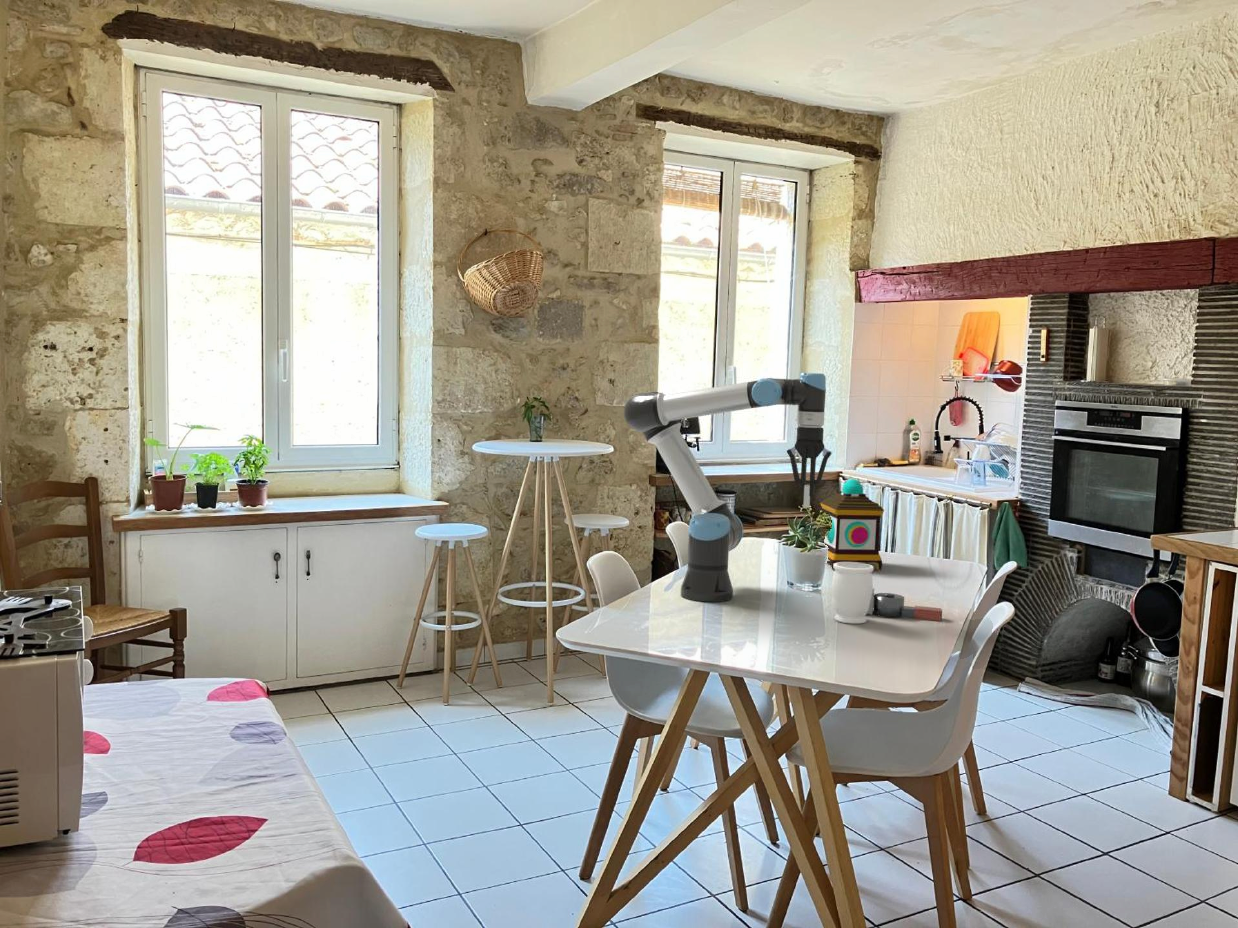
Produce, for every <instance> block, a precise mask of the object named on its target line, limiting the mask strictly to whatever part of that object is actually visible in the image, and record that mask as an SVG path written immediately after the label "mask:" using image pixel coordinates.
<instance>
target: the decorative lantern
mask: <svg viewBox="0 0 1238 928" xmlns="http://www.w3.org/2000/svg"><path fill="white" fill-rule="evenodd" d="M820 506H821V508H822V513H823V512H826V513H828V514H830V517H831V520H832V529H830V531H827V532H826V534H825V539H824V543H825V545H827V546H828V548H829V549H828V559H827V560H828V561H829V562H830V564H831V566H830V567H831V570H833V571H835V569H834V568H833V564H834V563H837V562H858V563H864V564H869V563H875V565H876V570H877V571H878V570H880V571H882V568H883V560H882V557H881V555H880V553H879V552H880V533H881V520H882V519H881V518H882V516H883V514H884V512H885V509H884V508H883V507H882V506H881V505H879V503H878V502H876V501H875V502H874V501H873V500H871V499H870V498H869V497H868V496H867V494H866V493H864V487H863V484H862V483H861V482H860V481H858V480H857V479H856V478H851V479H848V480H847V481H845V483H843V485H842V489H841V490H840V491H839V492H838V493H836V494H835V495H833V496H832V497H826V499H823V500H822V501H820Z"/></svg>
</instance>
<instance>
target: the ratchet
mask: <svg viewBox="0 0 1238 928" xmlns="http://www.w3.org/2000/svg"><path fill="white" fill-rule="evenodd" d="M872 615H875V616H878V617H881V618H887V619H898V618H907V619H908V618H909V619H917V620H927V621H936V622H942V621H943V609H942V607H932V606H921V605H914V606H911V605H910V606H909V605H905V596H903V595H901V594H897V593H891V592H880V593H874V595H873V613H872Z"/></svg>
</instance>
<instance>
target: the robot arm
mask: <svg viewBox="0 0 1238 928" xmlns="http://www.w3.org/2000/svg"><path fill="white" fill-rule="evenodd" d="M826 378H827V377H826V375H825V374H824V373H821V372H801V373H800V374H799V377H798V378H797V379H796V378H795V379H789V378H773V377H767V378H765V377H763V378H760V379H759V380H752V381H745V382H741V383H733V384H728V385H722V386H715V387H710V388H704V389H703V388H702V389H698V390H697V389H695V390H690V391H685V392H680V393H677V392H676V393H672V394H665V393H663V392H659V391H658V392H657V391H651V392H640V393H636V394H634V395H632V396H631V397H630V398H628V400H627V401H626V403H625V405H624V407H623V418H624V420H625V422H626V424H627V425H628V427H630V428H631V429H632V430H634V431H636V432H641V433H642V434H643V436H644V438H645V440H646V442H647V443H649V444H652V445H654V446H655V447H656V449H657V450H658V453H659V455H660V456H661V459H662V460H663V462H664V463H665V465H666V467H667V468H668V470H669V472H670V474H671V476H672V478H673V480H674V481H675V483H676V484H677V486H678V489H679V490H680V492H681V493H682V496H683V497H684V499H685V502H686V503H687V504H688V506H689V508H690V509H691V511H692V517H691V518H690V520H689V523H688V524H689V526H688V529H687V530H688V550H687V551H688V552H687V570H686V572H685V575H684V577H683V581H682V584H681V585H680V596H681V597H683V598H684V599H686V600H687V599H688V600H693V601H697V602H698V601H699V602H708V603H709V602H711V603H712V602H726V601H729V600H732V598H733V597H734V588H733V585H732V580H731V578H730V575H729V553H730V551H732V550H734V549H736V547H738V546H739V544H740V543H741V541H742V538H743V536H744V526H743V523H742V520H741V519H740V518H739V517H738V515H736V514H735V513H733V512H732V511H731V509H730V507H729V506H728V504H727V502H726V501H724V500H721V499H719V498H718V497H717V494H716V493H715V491H714V489H713V488H712V486H711V484H710V482H709V481H708V479H707V477H706V475H705V473H704V472H703V470H702V469H701V466H700V465H699V463H698V461H697V459H696V458H695V455H694V454H693V453H692V450H691V449H690V447H689V446H688V444H687V441H686V440H685V438H684V437H683V434H682V432H680V430H681V426H682V423H681V421H680V420H684V419H691V418H699V417H705V416H710V415H711V416H712V415H716V414H718V415H719V414H723V413H730V412H731V413H732V412H736V411H737V412H738V411H743V410H749V409H757V408H762V407H772V406H776V405H779V406H780V405H784V406H785V405H786V406H798V409H797V425H798V427H797V428H796V441H795V442H794V443H795V444H794V446H793V447H791V448H788V449H787V450H786V453H787V455H788V456H789V459H790V465H791V471H792V474H793V480H794V482H795V483H797V484H799V485H800V492H799V494H800V496H803V504H802V505H803V506H802V508H803V509H809V508H810V505H811V497H813V496H814V495H815V486H816V485H817V484H818V485H819V484H820V483H822V480H823V475H824V472H825V470H826V467H827V463H828V459H829V458H830V457H831V456H832V454H833V453H832V451H830V450H828V448H825V444H824V430H825V429H824V428H823V426H824V425H825V407H826V393H827V389H826ZM797 453H798V455H799V456H800V457H801V464H800V465H801V469H800V470H801V471H800V474H799V468H798V464H797V459H796V454H797ZM821 453H822V456H823V458H822V461H821V463H820V466H819V470H818V473H817V476H816V464H817V458H818V457H819V456H820V455H821ZM808 459H810V466H809V467H810V468H809V469H810V470H809V484H806V483H807V482H806V481H807V467H808V466H807V465H808V463H807V462H808Z"/></svg>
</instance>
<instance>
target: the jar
mask: <svg viewBox="0 0 1238 928" xmlns="http://www.w3.org/2000/svg"><path fill="white" fill-rule="evenodd" d="M833 568H834V569H835V570H834V573H833V577H832V581H831V593H832V594H831V595H832V599H833V600H832V602H833V607H834V611H835V613H836V614H835V615H834V616H833V617H834V620H835V621H837V622H840V623H842V624H843V623H844V624H853V625H859V624H860V625H861V624H865V623H866V622H867V620H868V619H867V617H866V615H867V614H866V613H867V611H868V609H869V605H870V600H871V596H872V590H873V589H874V588H873V587H874V586H873V585H874V584H873V575H872V572H873V571H874V566H873V565H871V564H869V563H858V562H837V563H834V564H833Z"/></svg>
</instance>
